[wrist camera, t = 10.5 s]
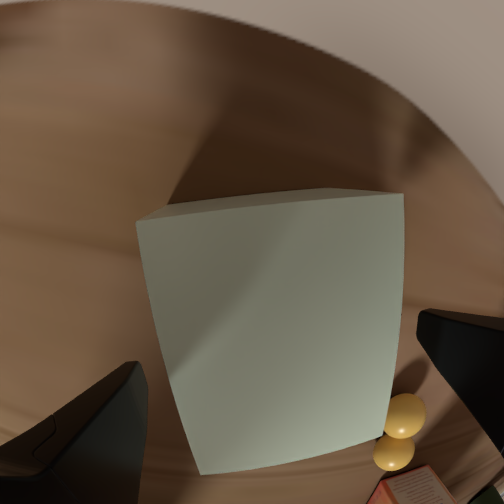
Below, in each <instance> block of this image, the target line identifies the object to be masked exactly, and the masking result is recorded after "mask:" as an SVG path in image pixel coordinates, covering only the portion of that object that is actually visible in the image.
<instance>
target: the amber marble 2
mask: <svg viewBox="0 0 504 504" xmlns="http://www.w3.org/2000/svg"><path fill="white" fill-rule="evenodd" d="M414 451H415V445H414V442H413V439H412V438H411V437H408V438H404V439H397V438H393V437H391V436H389V435H388V434H385V435H384V436H382V437H381V438H380V439H379V440H378V441H377V443H376V444H375V447H374V450H373V458H374V461H375V463H376V464H377V466H379V467H380V468H381V469H384V470H387V471H395V470H399V469H401V468H403V467H404V466H406V465H407V464H408V463H409V462H410V461H411V459H412V457H413V455H414Z"/></svg>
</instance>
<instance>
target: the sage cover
mask: <svg viewBox="0 0 504 504" xmlns="http://www.w3.org/2000/svg"><path fill="white" fill-rule="evenodd" d="M136 229H137V235H138V242H139V248H140V254H141V259H142V265H143V270H144V276H145V281H146V286H147V291H148V296H149V301H150V305H151V310H152V314H153V319H154V323H155V328H156V332H157V336H158V340H159V344H160V348H161V352H162V356H163V360H164V363H165V367H166V371H167V375H168V378H169V382H170V385H171V389H172V392H173V395H174V399H175V402H176V405H177V409H178V412H179V415H180V418H181V421H182V424H183V427H184V430H185V433H186V436H187V439H188V442H189V445H190V448H191V451H192V453H193V456H194V459H195V462H196V464H197V467H198V470H199V472H200V475H208V474H218V473H227V472H236V471H243V470H250V469H256V468H262V467H268V466H274V465H279V464H284V463H289V462H293V461H298V460H302V459H306V458H311V457H315V456H319V455H322V454H326V453H330V452H333V451H337V450H340V449H344V448H347V447H350V446H354V445H357V444H360V443H363V442H366V441H369V440H372V439H375V438H377V437H380V436H382V435H383V430H384V426H385V421H386V416H387V411H388V406H389V401H390V395H391V390H392V384H393V378H394V371H395V364H396V357H397V349H398V341H399V331H400V321H401V309H402V295H403V276H404V198H403V194H402V193H391V192H380V191H367V190H354V189H339V188H317V189H304V190H292V191H281V192H271V193H261V194H251V195H242V196H233V197H224V198H216V199H208V200H200V201H192V202H184V203H177V204H170V205H166V206H164V207H162V208H160V209H158V210H156V211H154V212H152V213H150V214H149V215H147V216H145V217H143V218H141V219H139V220H138V221H136Z"/></svg>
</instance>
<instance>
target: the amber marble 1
mask: <svg viewBox="0 0 504 504" xmlns="http://www.w3.org/2000/svg"><path fill="white" fill-rule="evenodd" d="M425 419H426V407H425V404H424V403H423V401H422V400H421V399H420V398H419V397H418V396H416V395H413V394H409V393H403V394H399V395H396V396H394V397H393V398H391V399H390V401H389V406H388V411H387V416H386V421H385V426H384V431H385V432H386V433H387V434H388V435H389V436H391V437H393V438H397V439H404V438H408V437H411V436H413V435H414V434H416V433H417V432H418V431H419V430H420V429H421V428H422V426H423V424H424V422H425Z"/></svg>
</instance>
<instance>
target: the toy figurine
mask: <svg viewBox="0 0 504 504" xmlns="http://www.w3.org/2000/svg"><path fill="white" fill-rule="evenodd" d="M480 494H481V495H480V496H479V497H478V498H476V499H475V500H474V501H473V502H471V503H470V504H504V501H503V500H502V498H501V496H500V494H499V493H498V491H497V490H496V488H495V487H494V486H491V487H490V488H489V489H488V490H487V491H485V492H483V491H482V492H481V493H480Z"/></svg>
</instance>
